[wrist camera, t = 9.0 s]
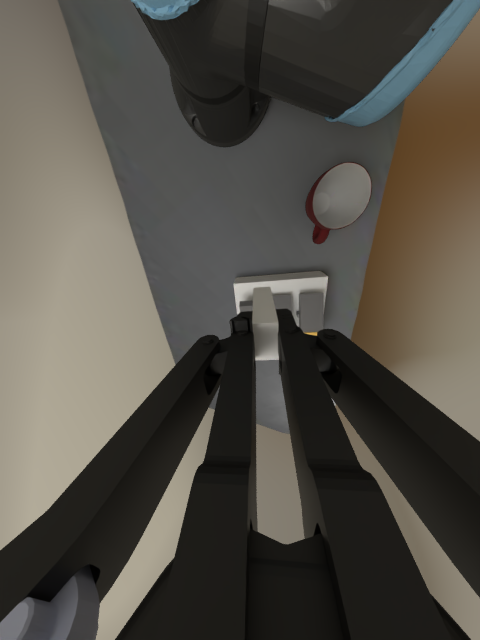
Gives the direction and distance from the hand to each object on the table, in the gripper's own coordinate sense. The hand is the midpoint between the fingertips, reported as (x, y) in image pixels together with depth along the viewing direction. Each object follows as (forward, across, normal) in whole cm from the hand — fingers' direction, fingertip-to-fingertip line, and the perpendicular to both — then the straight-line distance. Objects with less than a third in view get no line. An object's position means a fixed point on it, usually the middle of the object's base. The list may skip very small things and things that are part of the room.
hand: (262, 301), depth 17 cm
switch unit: (+26, +4, -12) cm, 29 cm away
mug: (+27, +12, +7) cm, 30 cm away
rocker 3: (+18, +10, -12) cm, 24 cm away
